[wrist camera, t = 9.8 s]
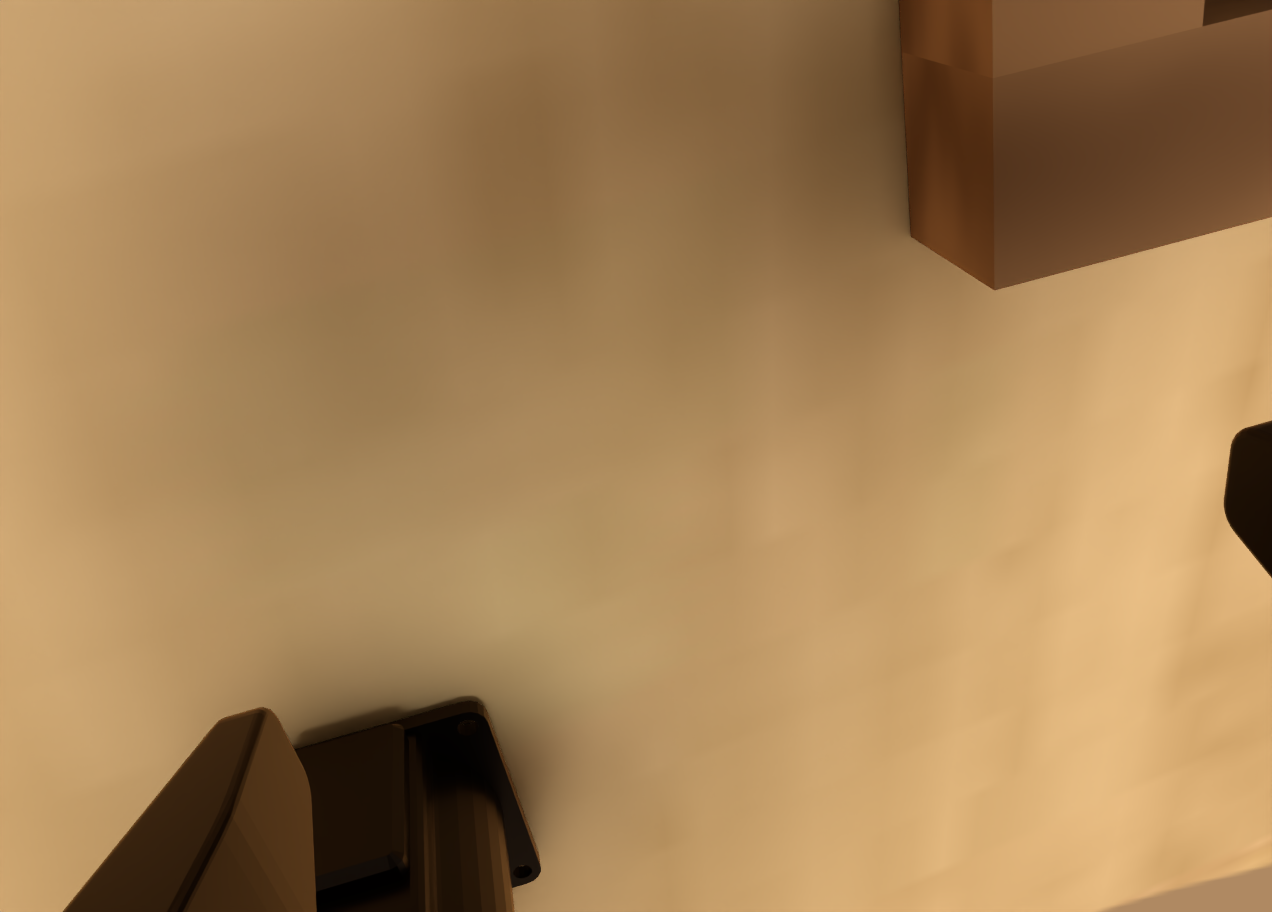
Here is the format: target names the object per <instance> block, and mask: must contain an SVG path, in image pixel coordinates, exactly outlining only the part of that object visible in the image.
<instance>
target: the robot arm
mask: <svg viewBox="0 0 1272 912" xmlns="http://www.w3.org/2000/svg"><path fill="white" fill-rule="evenodd" d="M1224 510H1225V514H1226V517H1227V520H1228V522H1229V524H1230V526H1231V528H1232V529H1233V531H1234V532H1235V533H1236V534H1237V536H1238V537H1239V538H1240V539H1241V541H1242V542H1243V543H1244V544H1245V546H1246V547H1247V548H1248V549H1249V551H1250V552H1251V553H1252V554H1253V555H1254V557H1255V558H1256V559H1257V560H1258V562H1259V563H1260V564H1261V565H1262V566H1263V568H1264V569H1265V570H1266V571H1267V573H1268V574H1269V575H1270V576H1271V578H1272V421H1268V422H1265V423H1261V424H1258V425H1254V426H1251V427H1247V428H1244V429H1242V430H1241V431H1240V432H1238V433H1237V434H1236V436H1235V437H1234V439H1233V441H1232V444H1231V449H1230V457H1229V464H1228V472H1227V480H1226V487H1225V495H1224ZM465 720H473V721H475V722H473V723H471V724H462V723H461V722H463V721H465ZM521 865H524V866H521ZM540 872H541V866H540V859H539V853H538V851H537V848H536V845H535V842H534V840H533V837H532V834H531V831H530V829H529V826H528V823H527V820H526V818H525V815H524V812H523V809H522V807H521V804H520V801H519V798H518V796H517V793H516V790H515V787H514V785H513V782H512V779H511V776H510V774H509V771H508V768H507V765H506V762H505V760H504V757H503V754H502V751H501V749H500V746H499V743H498V740H497V738H496V735H495V732H494V729H493V727H492V724H491V721H490V718H489V716H488V713H487V710H486V709H485V708H484V706H483V705H481V704H479V703H478V702H473V701H465V702H459V703H456V704H452V705H449V706H446V707H442V708H439V709H435V710H432V711H428V712H425V713H421V714H418V715H414V716H411V717H407V718H404V719H400V720H397V721H393V722H390V723H386V724H383V725H379V726H376V727H372V728H369V729H366V730H362V731H359V732H355V733H352V734H348V735H345V736H341V737H338V738H334V739H331V740H327V741H324V742H320V743H317V744H313V745H310V746H306V747H303V748H299V749H296V750H294V748H293V747H292V745H291V743H290V741H289V739H288V737H287V735H286V733H285V731H284V729H283V727H282V725H281V723H280V721H279V719H278V718H277V716H276V715H275V714H274V713H273V712H272V711H271V709H268V708H264V707H260V708H256V709H253V710H249V711H246V712H242V713H239V714H235V715H231V716H228V717H225V718H223V719H221V720H220V721H218V722H217V723H216V724H215V725H214V726H213V728H212V729H211V730H210V731H209V732H208V734H207V735H206V736H205V737H204V739H203V740H202V741H201V742H200V744H199V745H198V746H197V747H196V748H195V750H194V751H193V752H192V753H191V755H190V756H189V757H188V758H187V759H186V761H185V762H184V763H183V764H182V766H181V767H180V768H179V769H178V771H177V772H176V773H175V774H174V775H173V777H172V778H171V779H170V780H169V782H168V783H167V784H166V785H165V787H164V788H163V789H162V790H161V791H160V793H159V794H158V795H157V796H156V798H155V799H154V800H153V801H152V803H151V804H150V805H149V806H148V807H147V809H146V810H145V811H144V812H143V814H142V815H141V816H140V817H139V818H138V820H137V821H136V822H135V823H134V825H133V826H132V827H131V828H130V830H129V831H128V832H127V833H126V834H125V836H124V837H123V838H122V839H121V841H120V842H119V843H118V844H117V846H116V847H115V848H114V849H113V850H112V852H111V853H110V854H109V855H108V857H107V858H106V859H105V860H104V862H103V863H102V864H101V865H100V866H99V868H98V869H97V870H96V871H95V873H94V874H93V875H92V876H91V877H90V879H89V880H88V881H87V882H86V884H85V885H84V886H83V887H82V889H81V890H80V891H79V892H78V893H77V895H76V896H75V897H74V898H73V900H72V901H71V902H70V903H69V905H68V906H67V907H66V908H65V909H64V911H63V912H515V911H514V903H513V894H512V888H514V887H517V886H520V885H523V884H527V883H529V882H531V881H533V880H535V879H536V878H537V877H538V876H539V874H540Z"/></svg>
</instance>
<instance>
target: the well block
mask: <svg viewBox="0 0 1272 912" xmlns="http://www.w3.org/2000/svg"><path fill="white" fill-rule="evenodd" d="M899 10H900V30H901V49H902V69H903V88H904V108H905V127H906V147H907V166H908V186H909V205H910V225H911V237H912V238H914V239H916V240H917V241H919V242H920V243H922V244H923V245H925V246H926V247H928V248H930V249H931V250H933V251H934V252H936V253H937V254H939V255H940V256H942V257H944V258H945V259H947V260H948V261H950V262H951V263H953V264H954V265H956V266H958V267H959V268H961V269H962V270H964V271H965V272H967V273H968V274H970V275H972V276H973V277H975V278H976V279H978V280H979V281H981V282H982V283H984V284H985V285H987V286H989V287H990V288H992V289H993V290H998V289H1001V288H1005V287H1009V286H1013V285H1016V284H1020V283H1024V282H1028V281H1032V280H1035V279H1039V278H1043V277H1047V276H1050V275H1054V274H1058V273H1062V272H1066V271H1069V270H1073V269H1077V268H1081V267H1084V266H1088V265H1092V264H1096V263H1099V262H1103V261H1107V260H1111V259H1115V258H1118V257H1122V256H1126V255H1130V254H1133V253H1137V252H1141V251H1145V250H1149V249H1152V248H1156V247H1160V246H1164V245H1167V244H1171V243H1175V242H1179V241H1182V240H1186V239H1190V238H1194V237H1198V236H1201V235H1205V234H1209V233H1213V232H1216V231H1220V230H1224V229H1228V228H1232V227H1235V226H1239V225H1243V224H1247V223H1250V222H1254V221H1258V220H1262V219H1266V218H1269V217H1272V0H899Z"/></svg>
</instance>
